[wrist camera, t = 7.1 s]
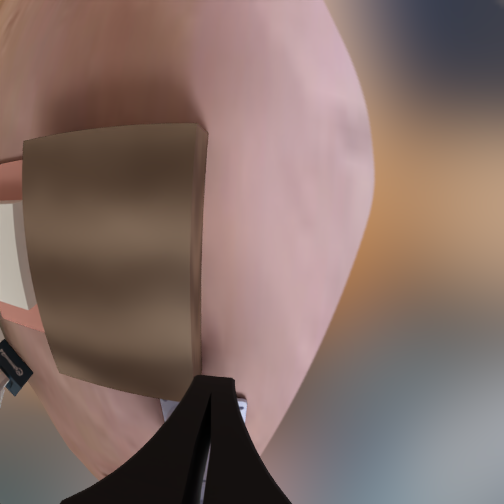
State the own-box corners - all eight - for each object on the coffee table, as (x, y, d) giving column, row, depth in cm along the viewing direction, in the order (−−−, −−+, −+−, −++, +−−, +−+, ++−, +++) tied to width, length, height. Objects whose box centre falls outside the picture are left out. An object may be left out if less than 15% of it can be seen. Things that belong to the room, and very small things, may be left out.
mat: (74, 338, 21) (72, 340, 20) (4, 316, 20) (2, 318, 20) (53, 155, 16) (50, 155, 15) (-16, 168, 15) (-19, 168, 15)
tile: (-8, 298, 17) (4, 290, 19) (28, 310, 17) (41, 300, 19) (-23, 204, 14) (-9, 201, 16) (12, 203, 14) (28, 199, 16)
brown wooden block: (201, 369, 21) (194, 403, 17) (78, 347, 21) (59, 372, 17) (208, 133, 16) (197, 123, 12) (57, 142, 16) (23, 141, 12)
